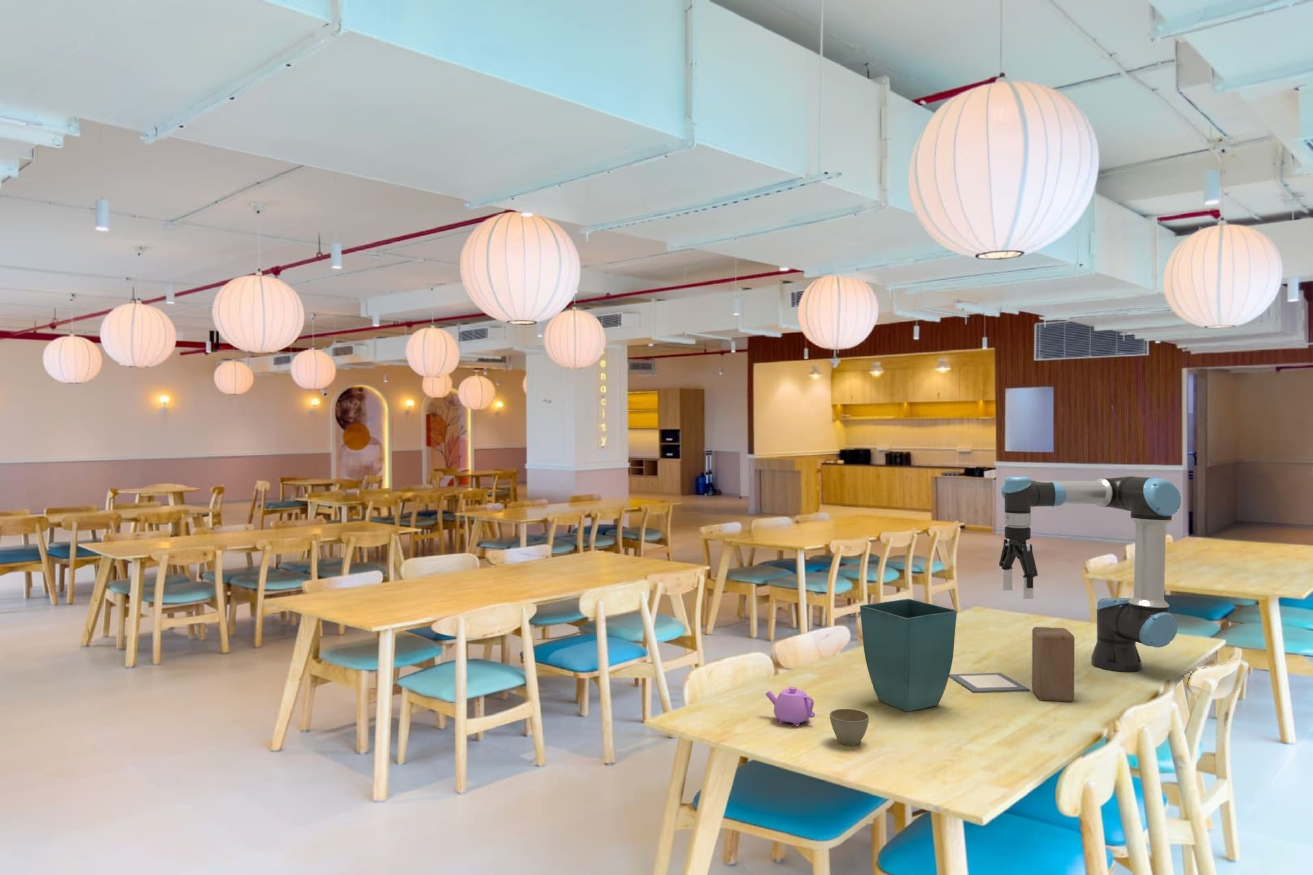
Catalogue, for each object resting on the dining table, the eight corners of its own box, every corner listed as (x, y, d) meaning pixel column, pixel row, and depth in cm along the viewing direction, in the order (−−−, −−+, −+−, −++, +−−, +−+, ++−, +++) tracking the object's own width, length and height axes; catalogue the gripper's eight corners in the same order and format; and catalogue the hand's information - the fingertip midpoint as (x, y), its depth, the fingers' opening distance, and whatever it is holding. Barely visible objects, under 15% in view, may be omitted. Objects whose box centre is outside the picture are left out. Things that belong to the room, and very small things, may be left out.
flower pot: (906, 718, 242) (906, 617, 241) (858, 699, 259) (858, 604, 259) (958, 708, 251) (958, 610, 251) (908, 689, 269) (908, 598, 268)
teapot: (806, 731, 232) (806, 696, 232) (756, 720, 241) (756, 686, 241) (823, 720, 240) (823, 687, 240) (774, 710, 249) (774, 677, 249)
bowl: (824, 736, 228) (824, 708, 228) (862, 734, 229) (862, 707, 229) (835, 750, 218) (835, 721, 218) (874, 748, 219) (874, 720, 219)
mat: (1000, 674, 285) (1000, 672, 285) (1029, 690, 267) (1029, 688, 267) (948, 676, 283) (948, 673, 283) (973, 692, 265) (973, 690, 265)
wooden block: (1075, 702, 256) (1075, 634, 256) (1038, 700, 258) (1039, 633, 258) (1066, 692, 265) (1066, 627, 265) (1031, 690, 267) (1031, 625, 267)
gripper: (988, 522, 283) (988, 587, 283) (1025, 531, 258) (1025, 602, 258) (1010, 521, 284) (1010, 586, 284) (1049, 530, 259) (1049, 601, 259)
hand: (1017, 594), depth 271 cm, fingers open, 13 cm apart
